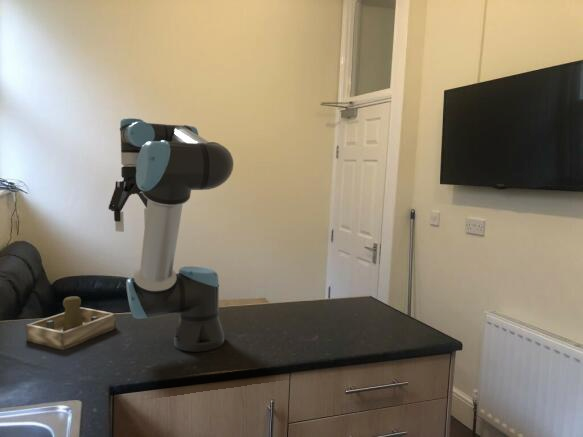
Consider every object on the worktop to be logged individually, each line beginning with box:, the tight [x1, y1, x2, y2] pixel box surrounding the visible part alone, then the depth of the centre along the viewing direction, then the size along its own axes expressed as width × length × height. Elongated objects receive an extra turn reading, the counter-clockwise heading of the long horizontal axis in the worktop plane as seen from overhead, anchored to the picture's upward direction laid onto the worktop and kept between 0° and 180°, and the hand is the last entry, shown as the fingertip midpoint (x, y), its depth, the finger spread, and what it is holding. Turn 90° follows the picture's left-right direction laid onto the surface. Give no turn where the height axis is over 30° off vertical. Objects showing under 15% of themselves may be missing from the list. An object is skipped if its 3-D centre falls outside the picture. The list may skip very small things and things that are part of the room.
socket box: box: [25, 306, 117, 351], centre depth 141 cm, size 16×20×5 cm
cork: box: [62, 295, 83, 332], centre depth 140 cm, size 6×6×11 cm
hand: (134, 229), depth 150 cm, fingers open, 13 cm apart
